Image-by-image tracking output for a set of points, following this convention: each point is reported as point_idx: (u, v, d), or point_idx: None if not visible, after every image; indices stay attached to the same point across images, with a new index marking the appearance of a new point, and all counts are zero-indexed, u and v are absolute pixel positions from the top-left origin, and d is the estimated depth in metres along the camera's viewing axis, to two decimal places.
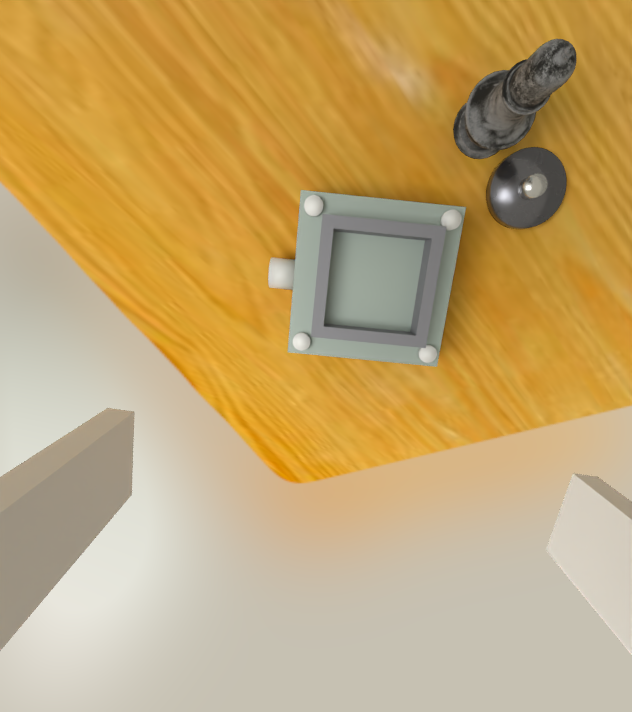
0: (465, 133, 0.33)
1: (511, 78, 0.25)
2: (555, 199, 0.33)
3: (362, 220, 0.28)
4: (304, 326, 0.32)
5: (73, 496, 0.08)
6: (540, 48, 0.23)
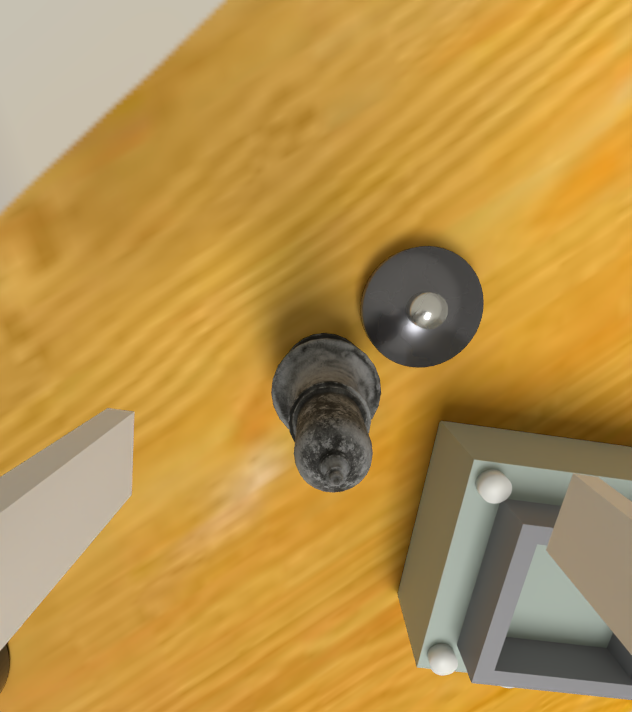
0: None
1: None
2: (444, 262, 0.20)
3: (490, 636, 0.18)
4: None
5: (73, 496, 0.08)
6: (309, 483, 0.12)
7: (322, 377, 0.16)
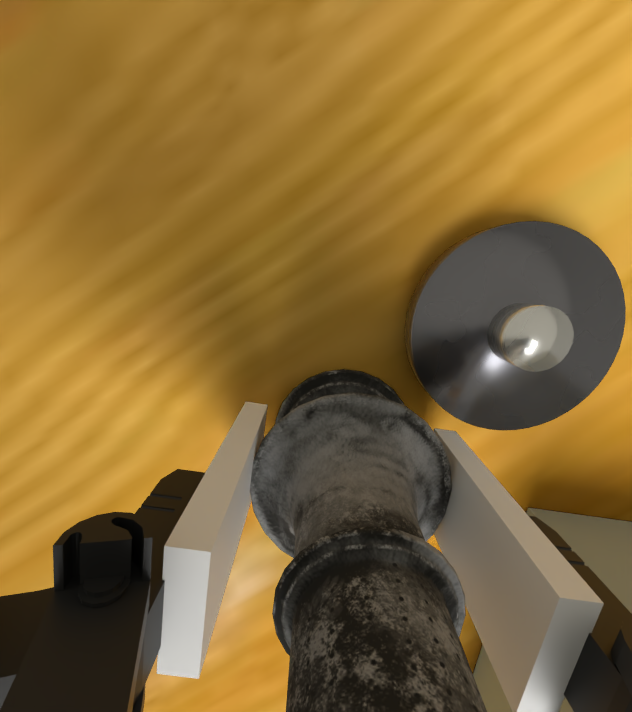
0: None
1: None
2: (562, 250, 0.11)
3: None
4: None
5: (250, 470, 0.10)
6: None
7: (347, 489, 0.08)
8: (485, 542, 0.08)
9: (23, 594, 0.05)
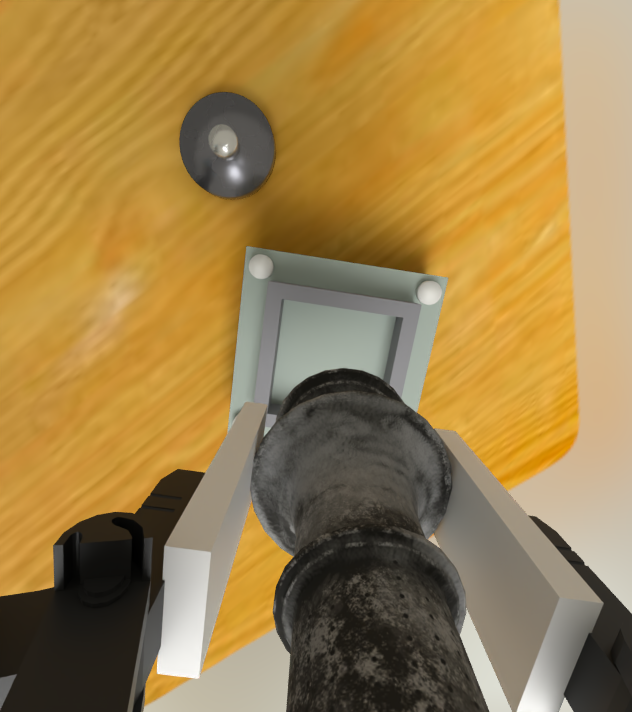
0: None
1: None
2: (239, 106, 0.26)
3: (259, 381, 0.24)
4: None
5: (250, 470, 0.10)
6: None
7: (348, 487, 0.08)
8: (485, 542, 0.08)
9: (23, 594, 0.05)
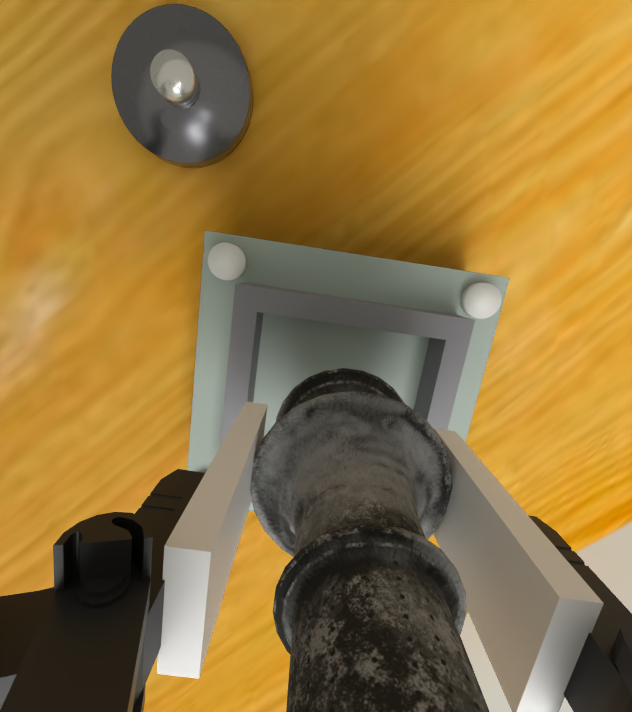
0: None
1: None
2: (197, 25, 0.17)
3: (224, 436, 0.16)
4: None
5: (250, 470, 0.10)
6: None
7: (348, 487, 0.08)
8: (485, 542, 0.08)
9: (23, 594, 0.05)
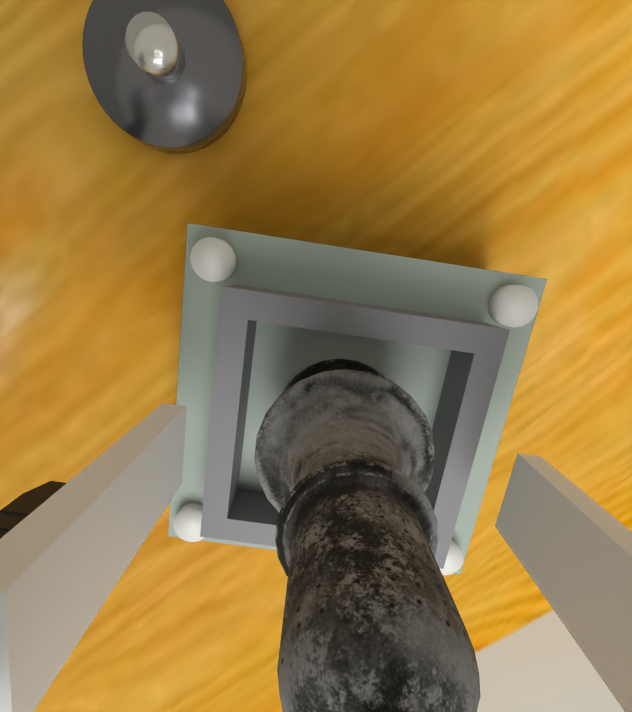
0: None
1: None
2: None
3: (210, 466, 0.13)
4: None
5: (146, 481, 0.09)
6: None
7: (340, 443, 0.09)
8: (622, 596, 0.07)
9: None
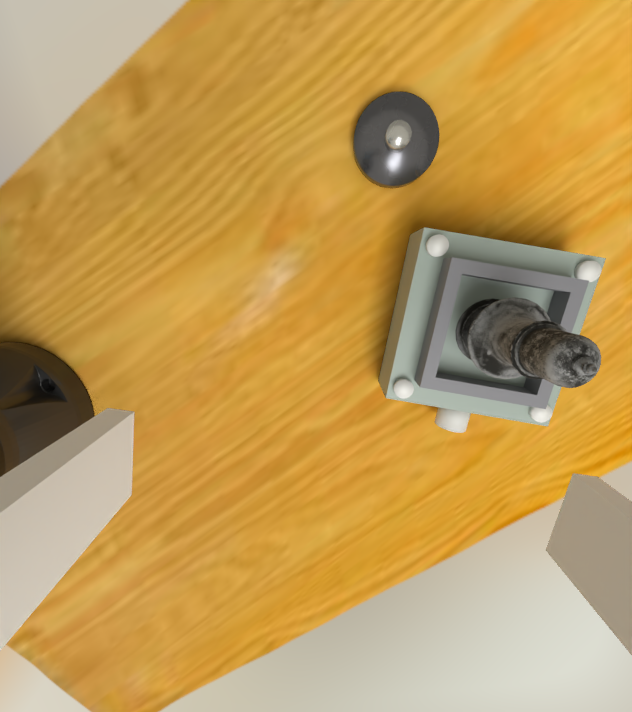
0: None
1: (531, 373, 0.21)
2: (411, 103, 0.29)
3: (432, 348, 0.27)
4: (522, 406, 0.30)
5: (73, 496, 0.08)
6: (554, 380, 0.19)
7: (524, 322, 0.23)
8: None
9: None
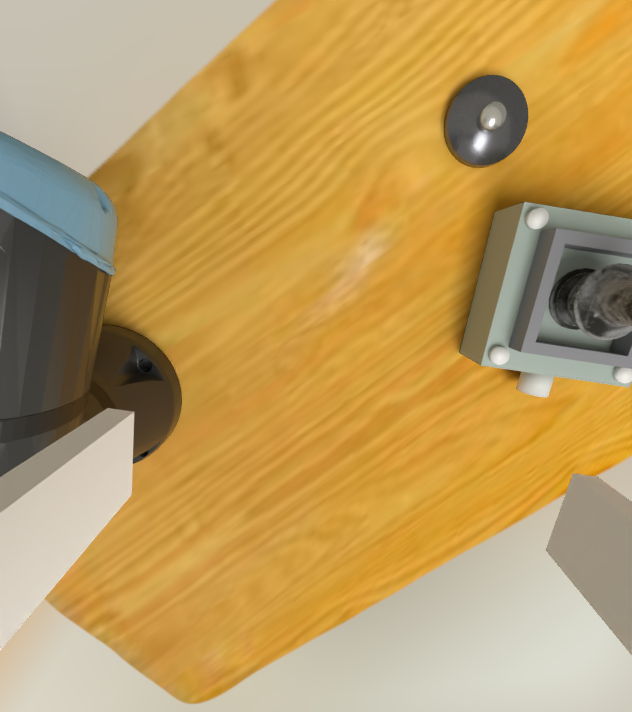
0: None
1: None
2: (503, 86, 0.30)
3: (534, 314, 0.29)
4: (607, 369, 0.32)
5: (73, 496, 0.08)
6: None
7: None
8: None
9: None
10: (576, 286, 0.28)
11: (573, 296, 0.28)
